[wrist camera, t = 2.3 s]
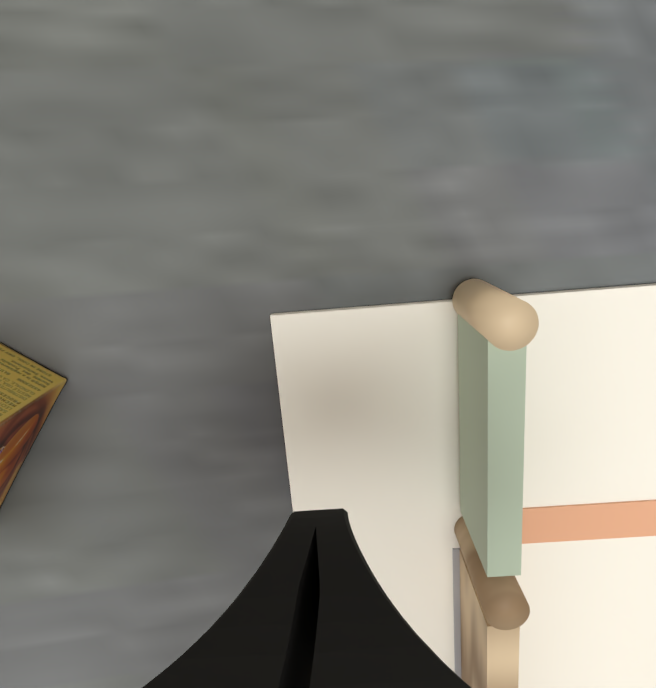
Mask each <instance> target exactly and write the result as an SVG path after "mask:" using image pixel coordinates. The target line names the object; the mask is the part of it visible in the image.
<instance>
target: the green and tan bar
mask: <svg viewBox="0 0 656 688" xmlns="http://www.w3.org/2000/svg"><path fill="white" fill-rule="evenodd" d="M452 303H453V307H454V309H455V311H456V312H457V314H458V369H459V441H460V511H461V514H462V516H463V519H464V521H465V524H466V526H467V529H468V531H469V533H470V536H471V538H472V541H473V543H474V546H475V548H476V551H477V553H478V555H479V558H480V560H481V563H482V565H483V568H484V570H485V573H486V575H487V577H499V576H517V575H521V555H522V514H523V472H524V431H525V390H526V349H527V345H528V344H529V343H530V342H531V341H532V340H533V338H534V337H535V335H536V333H537V331H538V327H539V319H538V315H537V313H536V311H535V309H534V308H533V307H532V306H531V305H530V304H529V303H527V302H525V301H523V300H521V299H519V298H517V297H515V296H513V295H511V294H509V293H507V292H505V291H503V290H501V289H499V288H497V287H495V286H493V285H491V284H489V283H487V282H485V281H483V280H480V279H469V280H466V281H464V282H462V283H461V284H460V285H459V286H458V287H457V288H456V290H455V292H454V294H453V298H452Z"/></svg>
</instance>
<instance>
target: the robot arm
mask: <svg viewBox="0 0 656 688" xmlns="http://www.w3.org/2000/svg"><path fill="white" fill-rule="evenodd" d="M143 688H471V687H470V686H469V685H468V684H467V683H466V682H464V681H463V680H462V679H461V678H460V677H459V676H458V675H457V674H456V673H455V672H454V671H452V670H451V669H450V668H449V667H448V666H447V665H446V664H445V663H444V662H443V661H442V660H441V659H440V658H439V657H438V656H437V655H436V654H435V653H434V652H433V651H432V650H431V648H430V647H429V646H428V645H427V644H426V643H425V642H424V641H423V640H422V639H421V638H420V637H419V636H418V635H417V634H416V632H415V631H414V630H413V629H412V628H411V626H410V625H409V624H408V623H407V622H406V620H405V619H404V618H403V617H402V615H401V614H400V613H399V611H398V610H397V609H396V607H395V606H394V605H393V603H392V602H391V601H390V599H389V598H388V596H387V595H386V593H385V592H384V590H383V589H382V587H381V586H380V584H379V582H378V581H377V579H376V578H375V576H374V574H373V573H372V571H371V569H370V567H369V566H368V564H367V562H366V560H365V558H364V556H363V554H362V552H361V550H360V548H359V546H358V544H357V542H356V539H355V537H354V534H353V532H352V529H351V526H350V523H349V518H348V512H347V511H346V510H344V509H343V508H340V509H324V510H308V511H294V512H293V513H292V514H291V515H290V517H289V519H288V521H287V523H286V525H285V527H284V529H283V530H282V532H281V534H280V536H279V537H278V539H277V541H276V542H275V544H274V546H273V547H272V549H271V550H270V552H269V553H268V555H267V557H266V558H265V560H264V561H263V563H262V564H261V566H260V567H259V569H258V570H257V572H256V573H255V574H254V576H253V577H252V578H251V580H250V581H249V582H248V584H247V585H246V586H245V588H244V589H243V590H242V592H241V593H240V594H239V596H238V597H237V598H236V599H235V600H234V602H233V603H232V604H231V605H230V606H229V608H228V609H227V610H226V611H225V612H224V613H223V615H222V616H221V617H220V618H219V619H218V620H217V621H216V622H215V623H214V624H213V626H212V627H211V628H210V629H209V630H208V631H207V632H206V633H205V634H204V635H203V636H202V637H201V638H200V639H199V640H198V641H197V642H196V643H194V644H193V645H192V646H191V647H190V648H189V649H188V650H187V651H186V652H185V653H184V654H183V655H182V656H181V657H180V658H178V659H177V660H176V661H175V662H174V663H172V664H171V665H170V666H169V667H168V668H167V669H165V670H164V671H163V672H162V673H161V674H159V675H158V676H157V677H155V678H154V679H153V680H152V681H150V682H149V683H148V684H147V685H145V686H144V687H143Z"/></svg>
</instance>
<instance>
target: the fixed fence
mask: <svg viewBox="0 0 656 688" xmlns="http://www.w3.org/2000/svg"><path fill="white" fill-rule="evenodd" d="M454 532H455V535H456V538H457V541H458V543H459V546H460V549H459V551H460V618H461V679H462V680H463V681H464V682H466V683H467V684H468V685H469V686H470V687H471V688H518V679H519V637H520V626H521V625H523V624H524V623H525V622H526V620H527V619H528V617H529V614H530V607H529V604H528V602H527V600H526V598H525V596H524V594H523V592H522V590H521V588H520V585H519V583H518V581H517V579H516V577H515V576H499V577H487V575H486V573H485V570H484V568H483V565H482V563H481V560H480V558H479V555H478V553H477V551H476V548H475V546H474V543H473V541H472V538H471V536H470V533H469V531H468V529H467V526H466V524H465V521H464V519H463V516H462V517H460V518H459V519H458V520H457V522H456V524H455V527H454Z"/></svg>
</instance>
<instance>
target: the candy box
mask: <svg viewBox="0 0 656 688" xmlns="http://www.w3.org/2000/svg"><path fill="white" fill-rule="evenodd" d="M65 383H66V379H65V378H63V377H61V376H59V375H57V374H56V373H54V372H52V371H50V370H48V369H46V368H44V367H43V366H41V365H39V364H37V363H36V362H34V361H32V360H30V359H29V358H27V357H25V356H23V355H21V354H19V353H17V352H16V351H14V350H12V349H10V348H8V347H7V346H5V345H3V344H1V343H0V506H1V504H2V502H3V500H4V498H5V496H6V494H7V492H8V490H9V488H10V486H11V484H12V482H13V480H14V478H15V477H16V474H17V472H18V470H19V469H20V467H21V465H22V463H23V461H24V459H25V457H26V456H27V454H28V452H29V450H30V448H31V446H32V444H33V442H34V440H35V438H36V436H37V435H38V433H39V431H40V429H41V427H42V425H43V423H44V421H45V419H46V417H47V415H48V413H49V411H50V410H51V408H52V406H53V404H54V402H55V400H56V399H57V397H58V395H59V393H60V391H61V390H62V388H63V386H64V384H65Z"/></svg>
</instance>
